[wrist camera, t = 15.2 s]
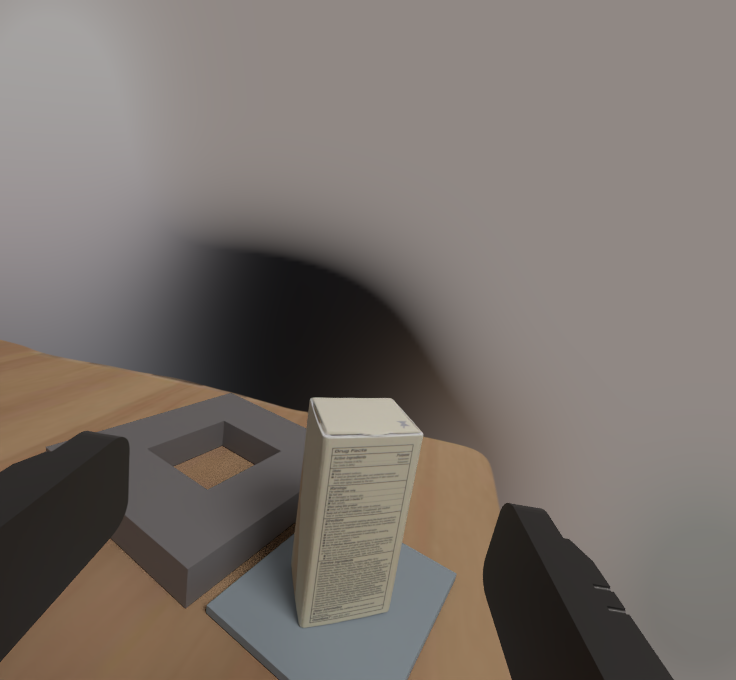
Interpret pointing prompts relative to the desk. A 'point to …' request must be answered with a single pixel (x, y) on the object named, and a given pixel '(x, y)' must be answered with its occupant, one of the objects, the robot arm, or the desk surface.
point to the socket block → (206, 491)
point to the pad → (337, 640)
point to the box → (352, 507)
